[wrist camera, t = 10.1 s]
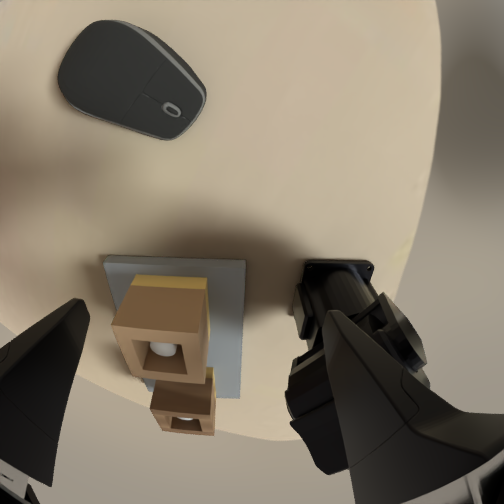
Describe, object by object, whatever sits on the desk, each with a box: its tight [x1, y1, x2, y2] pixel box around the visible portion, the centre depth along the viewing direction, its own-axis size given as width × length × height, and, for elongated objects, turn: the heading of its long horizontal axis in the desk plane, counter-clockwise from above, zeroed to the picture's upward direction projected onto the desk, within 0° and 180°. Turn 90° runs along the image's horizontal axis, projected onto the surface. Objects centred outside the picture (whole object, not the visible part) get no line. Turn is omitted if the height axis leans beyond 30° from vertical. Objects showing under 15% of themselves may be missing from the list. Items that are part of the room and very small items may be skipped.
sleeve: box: [150, 367, 216, 436], centre depth 26 cm, size 6×6×6 cm
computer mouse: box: [58, 20, 206, 140], centre depth 13 cm, size 7×12×4 cm, turn 49°
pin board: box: [103, 255, 246, 420], centre depth 23 cm, size 20×12×7 cm, turn 177°
